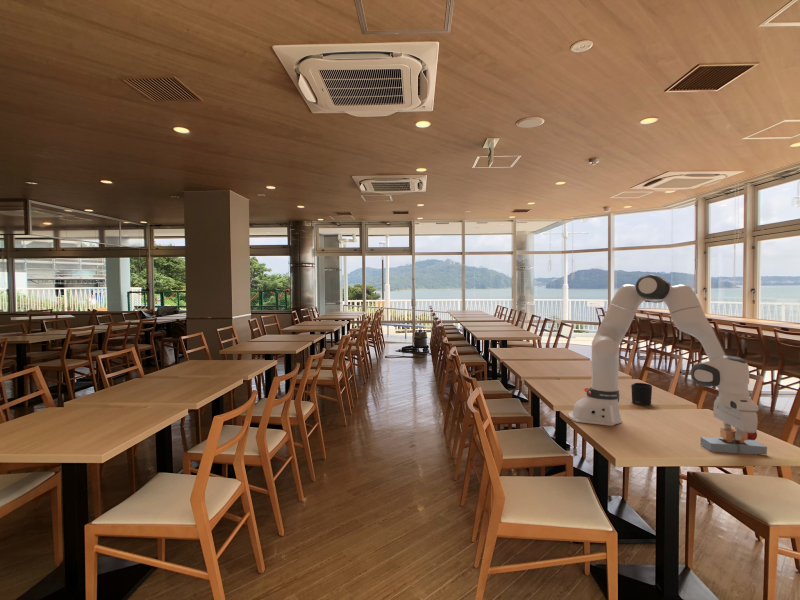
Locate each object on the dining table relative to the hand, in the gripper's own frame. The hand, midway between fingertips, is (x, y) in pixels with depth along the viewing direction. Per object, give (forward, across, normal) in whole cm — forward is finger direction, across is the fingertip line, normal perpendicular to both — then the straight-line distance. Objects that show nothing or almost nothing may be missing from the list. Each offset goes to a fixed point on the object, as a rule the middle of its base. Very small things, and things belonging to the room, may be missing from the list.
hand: (733, 437), depth 153 cm
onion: (+5, -9, +10) cm, 14 cm away
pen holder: (+5, -64, -8) cm, 65 cm away
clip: (+3, 0, 0) cm, 3 cm away
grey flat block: (+5, 0, 0) cm, 5 cm away
